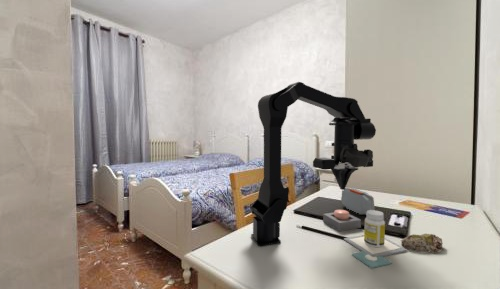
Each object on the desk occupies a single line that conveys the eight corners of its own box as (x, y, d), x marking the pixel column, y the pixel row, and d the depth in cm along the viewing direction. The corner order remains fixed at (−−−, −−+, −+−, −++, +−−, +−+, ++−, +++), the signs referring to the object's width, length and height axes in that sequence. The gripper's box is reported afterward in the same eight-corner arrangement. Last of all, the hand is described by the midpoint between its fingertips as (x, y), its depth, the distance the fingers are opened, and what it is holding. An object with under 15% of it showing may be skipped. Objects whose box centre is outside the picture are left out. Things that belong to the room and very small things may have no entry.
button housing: (339, 231, 72) (339, 223, 72) (323, 221, 80) (323, 213, 80) (360, 227, 75) (361, 219, 75) (343, 218, 83) (343, 211, 82)
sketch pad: (372, 258, 57) (372, 256, 57) (343, 239, 67) (343, 238, 67) (407, 251, 61) (407, 249, 61) (375, 234, 70) (375, 232, 70)
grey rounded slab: (375, 218, 83) (376, 195, 82) (368, 219, 82) (369, 196, 81) (345, 205, 96) (345, 185, 96) (339, 206, 95) (339, 186, 95)
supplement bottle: (379, 239, 66) (380, 209, 65) (387, 248, 61) (389, 216, 61) (361, 238, 66) (362, 209, 66) (367, 247, 62) (369, 215, 61)
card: (371, 268, 54) (371, 266, 53) (351, 254, 59) (351, 253, 59) (391, 263, 55) (391, 261, 55) (371, 250, 61) (371, 249, 61)
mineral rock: (422, 229, 69) (449, 233, 61) (425, 245, 68) (453, 251, 61) (389, 233, 67) (413, 238, 60) (392, 250, 66) (417, 257, 59)
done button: (340, 222, 75) (340, 215, 74) (331, 217, 79) (331, 210, 79) (352, 220, 76) (352, 213, 76) (342, 215, 80) (342, 209, 80)
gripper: (335, 142, 65) (334, 199, 66) (389, 141, 71) (386, 193, 72) (312, 140, 75) (311, 189, 77) (360, 139, 81) (358, 184, 82)
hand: (342, 189), depth 77 cm, fingers closed
